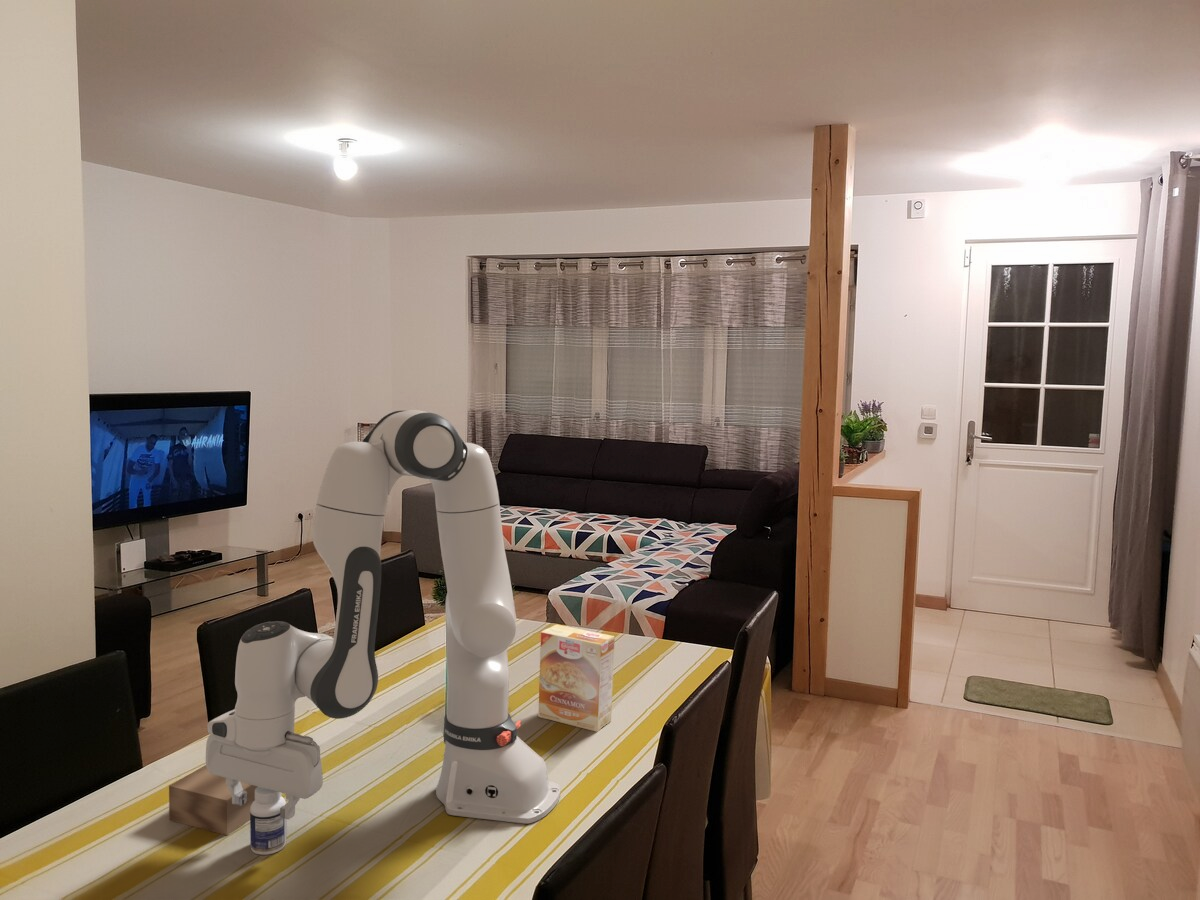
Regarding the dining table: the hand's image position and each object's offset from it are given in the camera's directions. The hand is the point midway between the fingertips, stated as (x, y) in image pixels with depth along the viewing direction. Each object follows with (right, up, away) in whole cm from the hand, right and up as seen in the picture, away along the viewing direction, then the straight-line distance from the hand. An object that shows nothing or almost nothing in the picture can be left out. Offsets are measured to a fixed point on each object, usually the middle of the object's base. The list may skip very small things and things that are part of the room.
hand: (263, 810), depth 139 cm
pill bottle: (+1, -6, +1) cm, 6 cm away
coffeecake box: (+48, -2, +54) cm, 72 cm away
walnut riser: (-11, -5, +11) cm, 16 cm away
